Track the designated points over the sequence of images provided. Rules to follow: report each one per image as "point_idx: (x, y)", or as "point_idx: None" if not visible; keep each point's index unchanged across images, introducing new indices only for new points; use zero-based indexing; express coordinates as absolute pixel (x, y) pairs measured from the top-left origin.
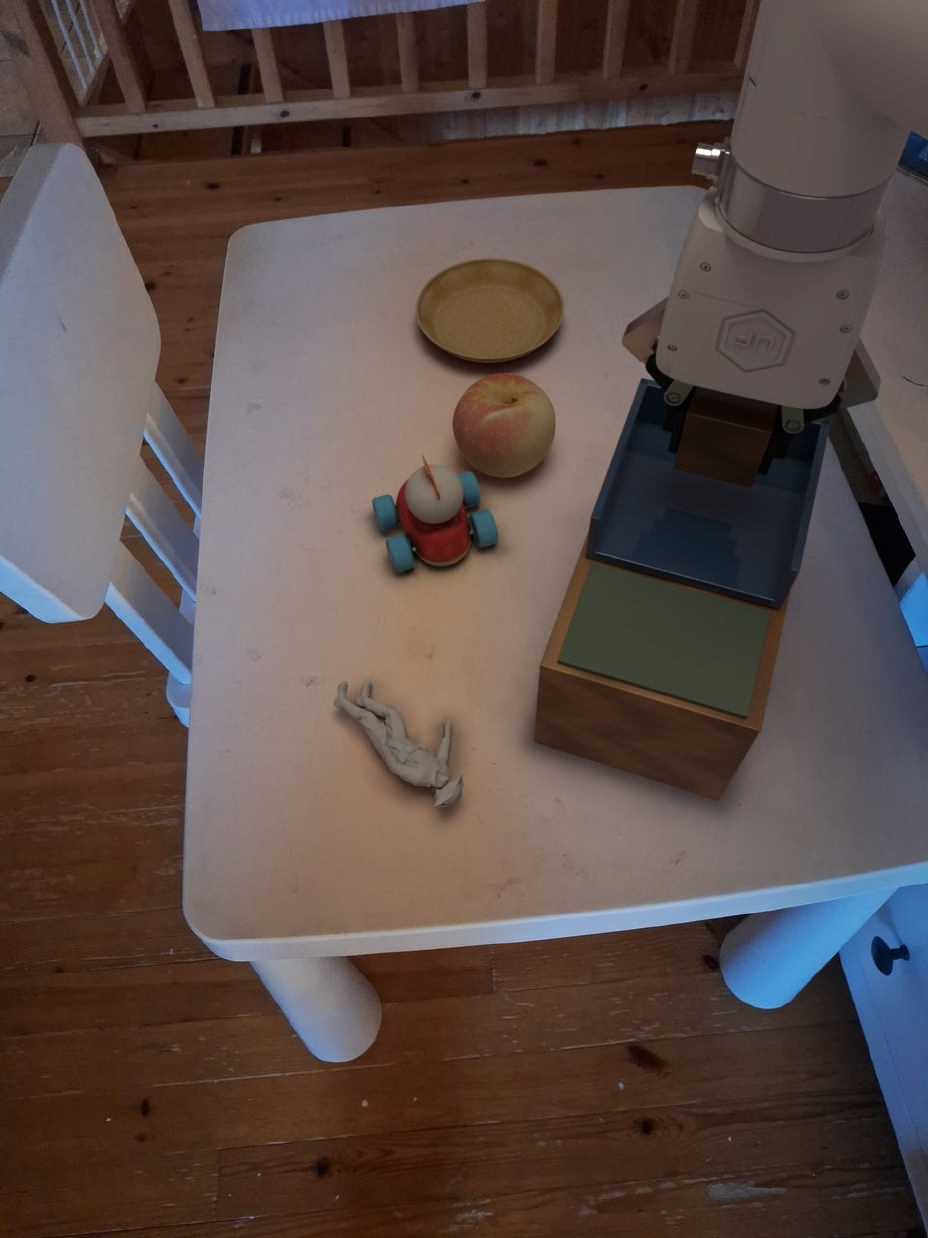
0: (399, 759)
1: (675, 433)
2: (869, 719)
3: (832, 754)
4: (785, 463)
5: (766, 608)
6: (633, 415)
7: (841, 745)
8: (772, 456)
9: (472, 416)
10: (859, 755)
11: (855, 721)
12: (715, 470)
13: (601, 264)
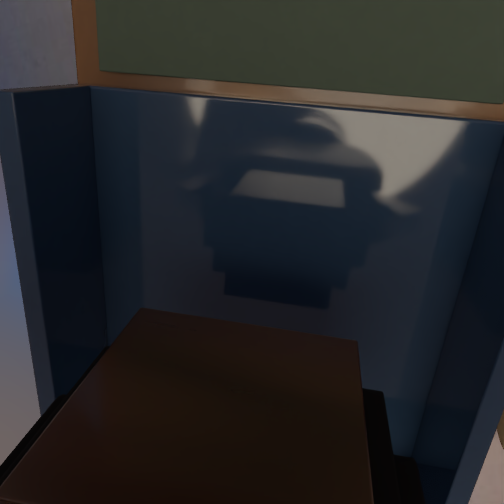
0: None
1: (382, 454)
2: (38, 82)
3: (66, 15)
4: None
5: (113, 84)
6: (461, 484)
7: (59, 33)
8: (68, 398)
9: None
10: (37, 24)
11: (52, 75)
12: (236, 342)
13: None
